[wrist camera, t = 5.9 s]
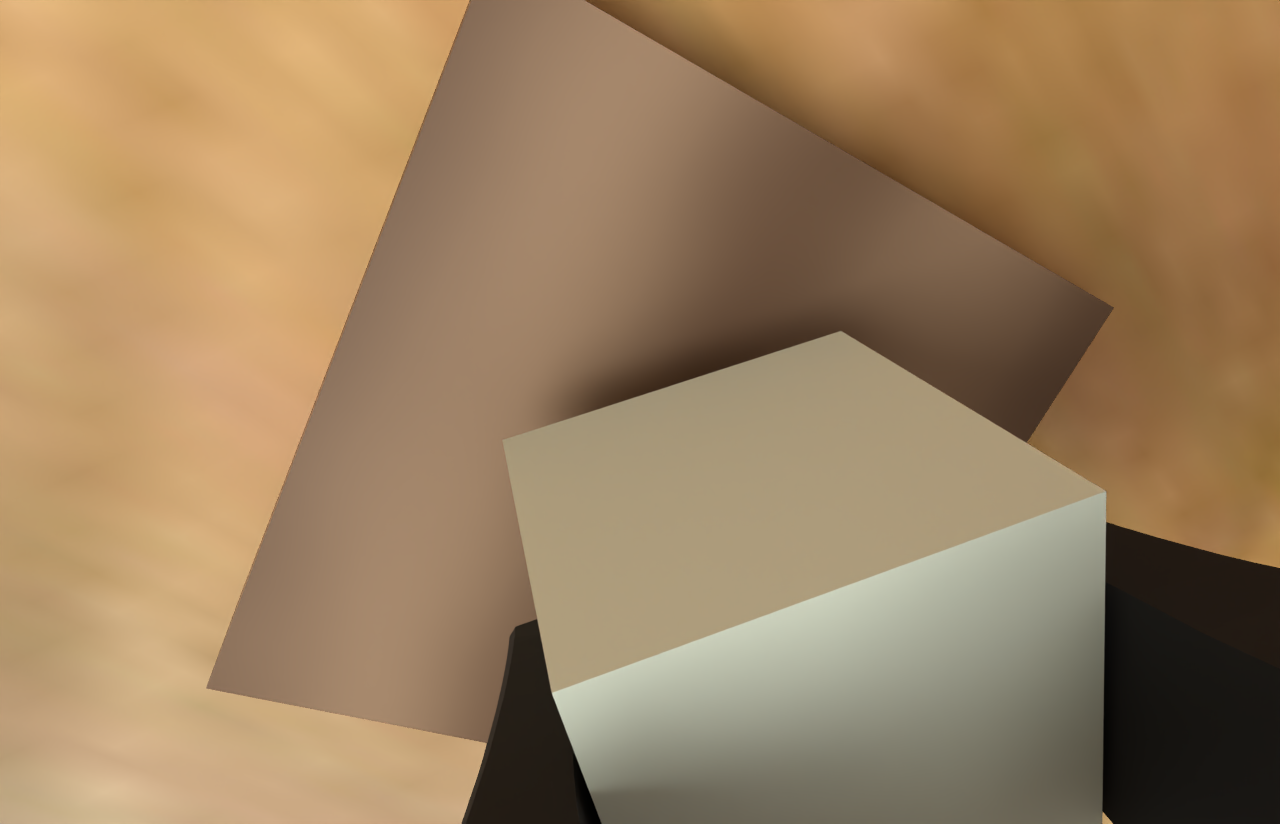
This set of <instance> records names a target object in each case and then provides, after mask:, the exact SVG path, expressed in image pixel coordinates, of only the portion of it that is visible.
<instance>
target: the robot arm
mask: <svg viewBox="0 0 1280 824" xmlns="http://www.w3.org/2000/svg"><path fill="white" fill-rule="evenodd" d="M1102 811H1103V812H1104V813H1105V815H1106V816H1107V817H1108V818H1109V819H1110V820H1111V821H1112V823H1113V824H1280V568H1277V567H1272V566H1267V565H1262V564H1258V563H1253V562H1249V561H1245V560H1241V559H1236V558H1232V557H1228V556H1224V555H1220V554H1216V553H1212V552H1208V551H1205V550H1201V549H1197V548H1194V547H1190V546H1186V545H1183V544H1179V543H1175V542H1172V541H1168V540H1164V539H1161V538H1157V537H1154V536H1150V535H1147V534H1143V533H1140V532H1137V531H1133V530H1130V529H1127V528H1123V527H1120V526H1117V525H1114V524H1110V523H1107V522H1106V556H1105V637H1104V718H1103V800H1102ZM462 824H602V823H601V821H600V818H599V816H598V813H597V810H596V808H595V805H594V802H593V800H592V797H591V795H590V792H589V789H588V787H587V784H586V781H585V779H584V776H583V774H582V771H581V768H580V766H579V763H578V761H577V758H576V755H575V753H574V750H573V747H572V745H571V742H570V740H569V737H568V734H567V732H566V729H565V726H564V724H563V721H562V719H561V716H560V713H559V711H558V708H557V705H556V703H555V700H554V698H553V695H552V692H551V687H550V681H549V676H548V671H547V666H546V661H545V656H544V651H543V646H542V640H541V635H540V630H539V625H538V620H537V619H536V620H533V621H530V622H527V623H524V624H521V625H519V626H516V627H515V628H514V630H513V632H512V633H511V635H510V637H509V646H508V653H507V660H506V666H505V671H504V676H503V681H502V686H501V691H500V695H499V699H498V704H497V708H496V712H495V716H494V720H493V723H492V727H491V731H490V735H489V738H488V742H487V746H486V749H485V753H484V757H483V760H482V764H481V767H480V770H479V773H478V777H477V780H476V783H475V785H474V788H473V791H472V794H471V797H470V800H469V803H468V806H467V809H466V812H465V815H464V818H463V821H462Z"/></svg>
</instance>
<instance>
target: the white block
mask: <svg viewBox="0 0 1280 824" xmlns="http://www.w3.org/2000/svg"><path fill="white" fill-rule="evenodd" d="M502 441H503V446H504V451H505V456H506V461H507V466H508V471H509V477H510V482H511V487H512V492H513V497H514V502H515V507H516V512H517V518H518V523H519V528H520V533H521V538H522V543H523V548H524V553H525V559H526V564H527V569H528V574H529V579H530V584H531V589H532V594H533V600H534V605H535V610H536V615H537V620H538V625H539V630H540V635H541V640H542V646H543V651H544V656H545V661H546V666H547V671H548V676H549V681H550V687H551V692H552V695H553V698H554V700H555V703H556V705H557V708H558V711H559V713H560V716H561V719H562V721H563V724H564V726H565V729H566V732H567V734H568V737H569V740H570V742H571V745H572V747H573V750H574V753H575V755H576V758H577V761H578V763H579V766H580V768H581V771H582V774H583V776H584V779H585V781H586V784H587V787H588V789H589V792H590V795H591V797H592V800H593V802H594V805H595V808H596V810H597V813H598V816H599V818H600V821H601V823H602V824H1102V800H1103V718H1104V637H1105V556H1106V491H1105V490H1104V489H1102V488H1100V487H1099V486H1097V485H1095V484H1094V483H1092V482H1090V481H1089V480H1087V479H1085V478H1084V477H1082V476H1080V475H1079V474H1077V473H1075V472H1074V471H1072V470H1070V469H1069V468H1067V467H1065V466H1064V465H1062V464H1060V463H1059V462H1057V461H1056V460H1054V459H1052V458H1051V457H1049V456H1047V455H1046V454H1044V453H1042V452H1041V451H1039V450H1037V449H1036V448H1034V447H1032V446H1031V445H1029V444H1027V443H1026V442H1024V441H1022V440H1021V439H1019V438H1017V437H1016V436H1014V435H1012V434H1011V433H1009V432H1008V431H1006V430H1004V429H1003V428H1001V427H999V426H998V425H996V424H994V423H993V422H991V421H989V420H988V419H986V418H984V417H983V416H981V415H979V414H978V413H976V412H974V411H973V410H971V409H969V408H968V407H966V406H964V405H963V404H961V403H960V402H958V401H956V400H955V399H953V398H951V397H950V396H948V395H946V394H945V393H943V392H941V391H940V390H938V389H936V388H935V387H933V386H931V385H930V384H928V383H926V382H925V381H923V380H921V379H920V378H918V377H916V376H915V375H913V374H912V373H910V372H908V371H907V370H905V369H903V368H902V367H900V366H898V365H897V364H895V363H893V362H892V361H890V360H888V359H887V358H885V357H883V356H882V355H880V354H878V353H877V352H875V351H873V350H872V349H870V348H868V347H867V346H865V345H864V344H862V343H860V342H859V341H857V340H855V339H854V338H852V337H850V336H849V335H847V334H845V333H844V332H842V331H839V332H836V333H833V334H830V335H827V336H824V337H821V338H817V339H814V340H811V341H808V342H805V343H802V344H799V345H796V346H793V347H790V348H786V349H783V350H780V351H777V352H774V353H771V354H768V355H765V356H762V357H759V358H755V359H752V360H749V361H746V362H743V363H740V364H737V365H734V366H731V367H728V368H724V369H721V370H718V371H715V372H712V373H709V374H706V375H703V376H700V377H697V378H693V379H690V380H687V381H684V382H681V383H678V384H675V385H672V386H669V387H666V388H662V389H659V390H656V391H653V392H650V393H647V394H644V395H641V396H638V397H635V398H631V399H628V400H625V401H622V402H619V403H616V404H613V405H610V406H607V407H604V408H600V409H597V410H594V411H591V412H588V413H585V414H582V415H579V416H576V417H573V418H569V419H566V420H563V421H560V422H557V423H554V424H551V425H548V426H545V427H542V428H538V429H535V430H532V431H529V432H526V433H523V434H520V435H517V436H514V437H511V438H507V439H504V440H502Z"/></svg>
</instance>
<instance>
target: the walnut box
mask: <svg viewBox="0 0 1280 824" xmlns="http://www.w3.org/2000/svg"><path fill="white" fill-rule="evenodd" d="M1112 310H1113V307H1112V306H1110V305H1108V304H1107V303H1105V302H1103V301H1101V300H1100V299H1098V298H1096V297H1095V296H1093V295H1091V294H1089V293H1088V292H1086V291H1084V290H1082V289H1081V288H1079V287H1077V286H1076V285H1074V284H1072V283H1070V282H1069V281H1067V280H1065V279H1064V278H1062V277H1060V276H1058V275H1057V274H1055V273H1053V272H1051V271H1050V270H1048V269H1046V268H1045V267H1043V266H1041V265H1039V264H1038V263H1036V262H1034V261H1033V260H1031V259H1029V258H1027V257H1026V256H1024V255H1022V254H1020V253H1019V252H1017V251H1015V250H1014V249H1012V248H1010V247H1008V246H1007V245H1005V244H1003V243H1002V242H1000V241H998V240H996V239H995V238H993V237H991V236H989V235H988V234H986V233H984V232H983V231H981V230H979V229H977V228H976V227H974V226H972V225H971V224H969V223H967V222H965V221H964V220H962V219H960V218H958V217H957V216H955V215H953V214H952V213H950V212H948V211H946V210H945V209H943V208H941V207H940V206H938V205H936V204H934V203H933V202H931V201H929V200H927V199H926V198H924V197H922V196H921V195H919V194H917V193H915V192H914V191H912V190H910V189H909V188H907V187H905V186H903V185H902V184H900V183H898V182H896V181H895V180H893V179H891V178H890V177H888V176H886V175H884V174H883V173H881V172H879V171H878V170H876V169H874V168H872V167H871V166H869V165H867V164H865V163H864V162H862V161H860V160H859V159H857V158H855V157H853V156H852V155H850V154H848V153H847V152H845V151H843V150H841V149H840V148H838V147H836V146H834V145H833V144H831V143H829V142H828V141H826V140H824V139H822V138H821V137H819V136H817V135H816V134H814V133H812V132H810V131H809V130H807V129H805V128H803V127H802V126H800V125H798V124H797V123H795V122H793V121H791V120H790V119H788V118H786V117H785V116H783V115H781V114H779V113H778V112H776V111H774V110H772V109H771V108H769V107H767V106H766V105H764V104H762V103H760V102H759V101H757V100H755V99H754V98H752V97H750V96H748V95H747V94H745V93H743V92H741V91H740V90H738V89H736V88H735V87H733V86H731V85H729V84H728V83H726V82H724V81H723V80H721V79H719V78H717V77H716V76H714V75H712V74H710V73H709V72H707V71H705V70H704V69H702V68H700V67H698V66H697V65H695V64H693V63H692V62H690V61H688V60H686V59H685V58H683V57H681V56H679V55H678V54H676V53H674V52H673V51H671V50H669V49H667V48H666V47H664V46H662V45H661V44H659V43H657V42H655V41H654V40H652V39H650V38H648V37H647V36H645V35H643V34H642V33H640V32H638V31H636V30H635V29H633V28H631V27H630V26H628V25H626V24H624V23H623V22H621V21H619V20H617V19H616V18H614V17H612V16H611V15H609V14H607V13H605V12H604V11H602V10H600V9H599V8H597V7H595V6H593V5H592V4H590V3H588V2H586V1H585V0H470V1H469V4H468V6H467V9H466V11H465V14H464V17H463V19H462V22H461V24H460V27H459V30H458V32H457V35H456V37H455V40H454V43H453V45H452V48H451V50H450V53H449V56H448V58H447V61H446V63H445V66H444V69H443V71H442V74H441V76H440V79H439V82H438V84H437V87H436V89H435V92H434V95H433V97H432V100H431V102H430V105H429V107H428V110H427V113H426V115H425V118H424V120H423V123H422V126H421V128H420V131H419V133H418V136H417V139H416V141H415V144H414V146H413V149H412V152H411V154H410V157H409V159H408V162H407V165H406V167H405V170H404V172H403V175H402V178H401V180H400V183H399V185H398V188H397V191H396V193H395V196H394V198H393V201H392V204H391V206H390V209H389V211H388V214H387V217H386V219H385V222H384V224H383V227H382V229H381V232H380V235H379V237H378V240H377V242H376V245H375V248H374V250H373V253H372V255H371V258H370V261H369V263H368V266H367V268H366V271H365V274H364V276H363V279H362V281H361V284H360V287H359V289H358V292H357V294H356V297H355V300H354V302H353V305H352V307H351V310H350V313H349V315H348V318H347V320H346V323H345V326H344V328H343V331H342V333H341V336H340V339H339V341H338V344H337V346H336V349H335V351H334V354H333V357H332V359H331V362H330V364H329V367H328V370H327V372H326V375H325V377H324V380H323V383H322V385H321V388H320V390H319V393H318V396H317V398H316V401H315V403H314V406H313V409H312V411H311V414H310V416H309V419H308V422H307V424H306V427H305V429H304V432H303V435H302V437H301V440H300V442H299V445H298V448H297V450H296V453H295V455H294V458H293V461H292V463H291V466H290V468H289V471H288V474H287V476H286V479H285V481H284V484H283V486H282V489H281V492H280V494H279V497H278V499H277V502H276V505H275V507H274V510H273V512H272V515H271V518H270V520H269V523H268V525H267V528H266V531H265V533H264V536H263V538H262V541H261V544H260V546H259V549H258V551H257V554H256V557H255V559H254V562H253V564H252V567H251V570H250V572H249V575H248V577H247V580H246V583H245V585H244V588H243V590H242V593H241V596H240V598H239V601H238V604H237V606H236V609H235V612H234V614H233V617H232V620H231V622H230V625H229V628H228V631H227V633H226V636H225V639H224V641H223V644H222V647H221V649H220V652H219V655H218V658H217V660H216V663H215V666H214V668H213V671H212V674H211V676H210V679H209V682H208V685H207V687H206V688H207V689H212V690H217V691H222V692H227V693H233V694H238V695H243V696H248V697H253V698H258V699H263V700H269V701H274V702H279V703H284V704H289V705H294V706H299V707H305V708H310V709H315V710H320V711H325V712H330V713H335V714H341V715H346V716H351V717H356V718H361V719H366V720H371V721H377V722H382V723H387V724H392V725H397V726H402V727H407V728H413V729H418V730H423V731H428V732H433V733H438V734H443V735H449V736H454V737H459V738H464V739H469V740H474V741H479V742H485V743H487V742H488V738H489V735H490V731H491V727H492V723H493V720H494V716H495V712H496V708H497V704H498V699H499V695H500V691H501V686H502V681H503V676H504V671H505V666H506V660H507V653H508V646H509V637H510V635H511V633H512V632H513V630H514V628H515V627H516V626H519V625H521V624H524V623H527V622H530V621H533V620H536V619H537V615H536V610H535V605H534V600H533V594H532V589H531V584H530V579H529V574H528V569H527V564H526V559H525V553H524V548H523V543H522V538H521V533H520V528H519V523H518V518H517V512H516V507H515V502H514V497H513V492H512V487H511V482H510V477H509V471H508V466H507V461H506V456H505V451H504V446H503V441H502V440H504V439H507V438H511V437H514V436H517V435H520V434H523V433H526V432H529V431H532V430H535V429H538V428H542V427H545V426H548V425H551V424H554V423H557V422H560V421H563V420H566V419H569V418H573V417H576V416H579V415H582V414H585V413H588V412H591V411H594V410H597V409H600V408H604V407H607V406H610V405H613V404H616V403H619V402H622V401H625V400H628V399H631V398H635V397H638V396H641V395H644V394H647V393H650V392H653V391H656V390H659V389H662V388H666V387H669V386H672V385H675V384H678V383H681V382H684V381H687V380H690V379H693V378H697V377H700V376H703V375H706V374H709V373H712V372H715V371H718V370H721V369H724V368H728V367H731V366H734V365H737V364H740V363H743V362H746V361H749V360H752V359H755V358H759V357H762V356H765V355H768V354H771V353H774V352H777V351H780V350H783V349H786V348H790V347H793V346H796V345H799V344H802V343H805V342H808V341H811V340H814V339H817V338H821V337H824V336H827V335H830V334H833V333H836V332H839V331H842V332H844V333H845V334H847V335H849V336H850V337H852V338H854V339H855V340H857V341H859V342H860V343H862V344H864V345H865V346H867V347H868V348H870V349H872V350H873V351H875V352H877V353H878V354H880V355H882V356H883V357H885V358H887V359H888V360H890V361H892V362H893V363H895V364H897V365H898V366H900V367H902V368H903V369H905V370H907V371H908V372H910V373H912V374H913V375H915V376H916V377H918V378H920V379H921V380H923V381H925V382H926V383H928V384H930V385H931V386H933V387H935V388H936V389H938V390H940V391H941V392H943V393H945V394H946V395H948V396H950V397H951V398H953V399H955V400H956V401H958V402H960V403H961V404H963V405H964V406H966V407H968V408H969V409H971V410H973V411H974V412H976V413H978V414H979V415H981V416H983V417H984V418H986V419H988V420H989V421H991V422H993V423H994V424H996V425H998V426H999V427H1001V428H1003V429H1004V430H1006V431H1008V432H1009V433H1011V434H1012V435H1014V436H1016V437H1017V438H1019V439H1021V440H1022V441H1024V442H1026V443H1027V441H1028V440H1029V438H1030V437H1031V435H1032V434H1033V432H1034V430H1035V429H1036V427H1037V426H1038V424H1039V423H1040V421H1041V420H1042V418H1043V417H1044V415H1045V413H1046V412H1047V410H1048V409H1049V407H1050V406H1051V404H1052V403H1053V401H1054V400H1055V398H1056V396H1057V395H1058V393H1059V392H1060V390H1061V389H1062V387H1063V386H1064V384H1065V382H1066V381H1067V379H1068V378H1069V376H1070V375H1071V373H1072V372H1073V370H1074V369H1075V367H1076V365H1077V364H1078V362H1079V361H1080V359H1081V358H1082V356H1083V355H1084V353H1085V352H1086V350H1087V348H1088V347H1089V345H1090V344H1091V342H1092V341H1093V339H1094V338H1095V336H1096V335H1097V333H1098V331H1099V330H1100V328H1101V327H1102V325H1103V324H1104V322H1105V321H1106V319H1107V317H1108V316H1109V314H1110V313H1111V311H1112Z"/></svg>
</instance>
